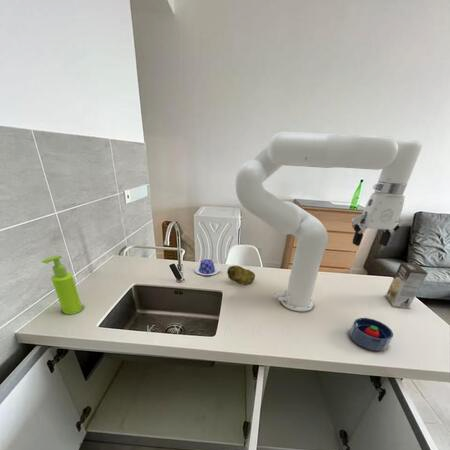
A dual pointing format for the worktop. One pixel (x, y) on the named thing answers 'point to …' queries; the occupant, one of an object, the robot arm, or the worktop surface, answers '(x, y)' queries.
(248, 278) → the potato
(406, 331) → the worktop surface
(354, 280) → the worktop surface
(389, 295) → the coffee box
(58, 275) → the soap dispenser
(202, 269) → the pudding
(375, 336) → the strawberry
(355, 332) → the dessert bowl
